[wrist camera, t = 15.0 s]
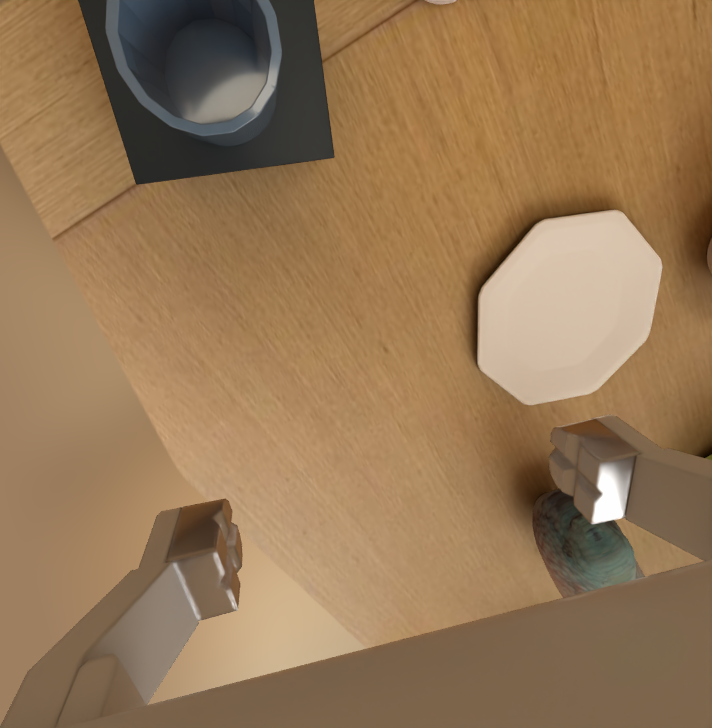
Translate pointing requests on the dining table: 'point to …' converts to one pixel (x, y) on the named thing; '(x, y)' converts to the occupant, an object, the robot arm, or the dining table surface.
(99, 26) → the container
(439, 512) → the dining table surface
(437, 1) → the water bottle
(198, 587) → the robot arm
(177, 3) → the cup
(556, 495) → the decorative stone
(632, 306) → the plate
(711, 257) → the bowl
